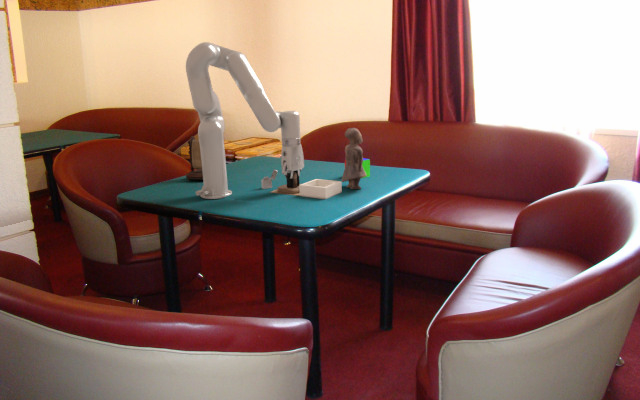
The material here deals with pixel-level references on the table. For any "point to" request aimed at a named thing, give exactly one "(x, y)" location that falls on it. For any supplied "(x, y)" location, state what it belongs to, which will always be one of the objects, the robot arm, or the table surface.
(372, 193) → the table surface
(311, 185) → the dish
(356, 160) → the clay figurine
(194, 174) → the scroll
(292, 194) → the mat
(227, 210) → the table surface
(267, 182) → the lighter
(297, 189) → the lid
